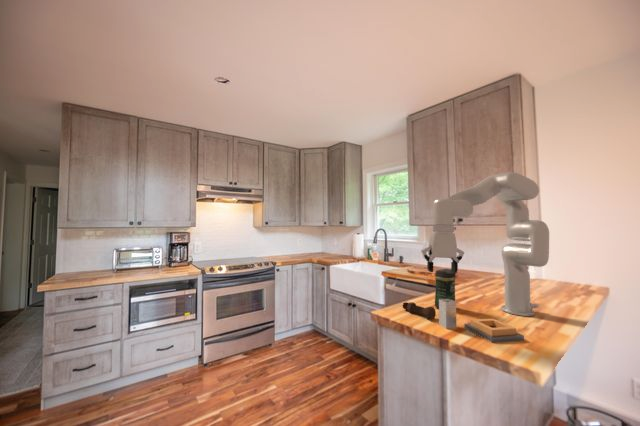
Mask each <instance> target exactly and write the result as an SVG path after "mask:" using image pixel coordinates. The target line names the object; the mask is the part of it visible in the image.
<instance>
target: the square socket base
mask: <svg viewBox="0 0 640 426" xmlns="http://www.w3.org/2000/svg"><path fill="white" fill-rule="evenodd" d="M464 328H465V329H466V330H468V331H470V332H471V331H472V332H471V333H473V332H474V334H475V333H476V334H475V335H477V334H478V335H477V336H479V335H480V336H479V337H481V336H482V337H483V339H484V338H485V339H484V340H486V339H487V341H488V340H489V341H488V342H490V341H491V342H490V343H503V342H517V341H525V335H524V334H521V333H519V332H517V327H513V326H511V325H509V324H507V323H504V322H502V321H500V320H498V319H495V318H480V319H479V318H478V319H470V323H464ZM482 337H481V338H482Z"/></svg>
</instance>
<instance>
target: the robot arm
mask: <svg viewBox="0 0 640 426" xmlns="http://www.w3.org/2000/svg"><path fill="white" fill-rule="evenodd" d="M539 188H540V187H539V185H538V184H537V182H536V181H534V180H533V179H531V178H528V177H526V176H525V175H523V174H520V173H518V172H514V171H508V172H501V173H496V174H492V175H489V176H487V177H486V178H484V179H482V180H481V181H479V182H478V183H476V184H475V185H473V186H471V187H468V188H465V189H463V190H461V191H459V192H457V193H454V194H451V195H450V196H448V197H446V198H439V199H438V198H437V199H435V200H434V201H433V204H432V206H433V207H432V209H433V210H432V214H433V215H432V232H430V233H429V234H430V235H429V239H428V247H425V248H423V249H422V250H420V252H421V255H422V257H423V258H424V259H425V260H426V262H427V263H426V264H427V265H426V267H427V268H426V269H427V271H428V272H430V273H433V272H434V260H435V258H440V259H442V258H444V259H451V262H450V263H451V266H450V267H451V268H450V269H451V271H452V272H454V273H455V274H458V270H459V269H458V268H459V267H458V265H459V263H460V261H461V260H462V259H463V257H464V255H465V252H464V250H461V249H460V248H458V247H457V239H456V234H455V233H454V231H457V227H456V226H454V219H464V218H468V217H470V216H471V215H472V214H473V213H474V207H475V206H479V205H481V204H484V203H486V202H488V201H489V200H491V199H492V198H494V197H495V196H496V198H497V199H498V200H499V201H500V202H501V204H502V206H504V208H505V211H506V217H505V218H506V222H505V223H506V224H505V225H506V227H505V230H506V232H505V233H506V237H507V238H508V239H510V240H512V241H518V242H519V241H520V242H521V241H522V242H530V244H527V243H516V242H515V243H514V242H513V243H507V244H505V245H504V246H502V247H501V257H502V262H503V266H504V267H503V268H504V269H503V270H504V305H501V306H500V309H501V311H503V312H505V313H508V314H509V315H510V314H511V315H515V316H522V317H533V316H535V315H536V312H535V311H534V310H533V309H536V308H537V309H538V308H539V307H540V306H539V304H538V303H532V302H531V275H530V272H529V270H528V269H527V266H530V267H539V268H542V267H545V266H546V265H548V263H549V258H550V229H549V226H548V224H547V223H545V222H544V221H542V220H537V219H533V220H532V219H530V214H529V213H530V212H529V211H530V210H529V207H528V206H527V204H525V203H524V202H523V201H529V200H534V199H536V198H537V197H538V195H539V193H540V189H539Z"/></svg>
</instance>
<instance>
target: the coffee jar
mask: <svg viewBox="0 0 640 426" xmlns="http://www.w3.org/2000/svg"><path fill="white" fill-rule="evenodd" d="M434 278H435V295H434V306H435V308H437V309H439V299H451V300H453V301H455V302H456V278H457V277H456V273H454V272H452V271H451V268H450V269H449V268H442V269H437V270H435V274H434Z"/></svg>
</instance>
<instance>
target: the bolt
mask: <svg viewBox="0 0 640 426" xmlns="http://www.w3.org/2000/svg"><path fill="white" fill-rule="evenodd" d="M402 308H403V310H406V311H408V313H410V314H415V313H416V314H417V315H418V314H419V315H421V316H424V317H425V319H426V320H428V321H432V320H434V319H435V318H436V309H435V308H434V306H426V307H423V306H420V305H417V304H416V303H415V302H403V303H402Z"/></svg>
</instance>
